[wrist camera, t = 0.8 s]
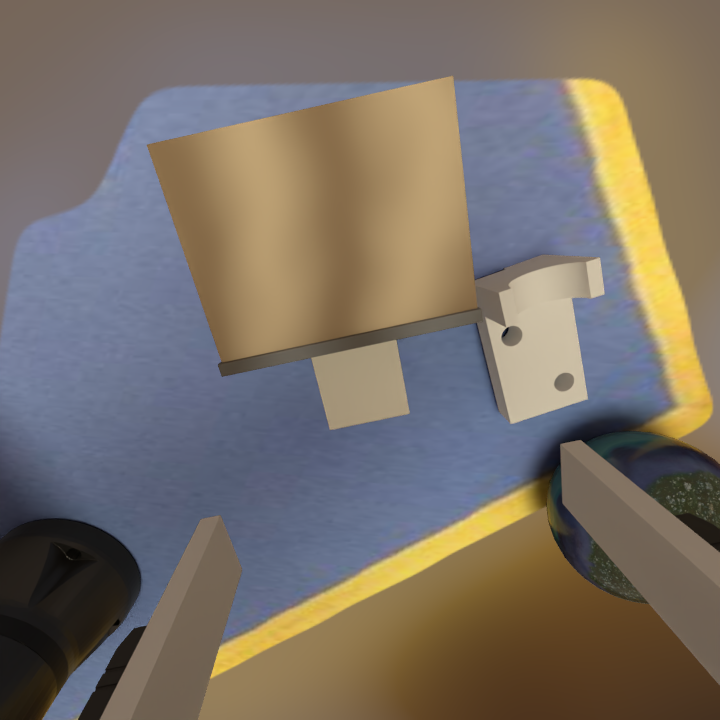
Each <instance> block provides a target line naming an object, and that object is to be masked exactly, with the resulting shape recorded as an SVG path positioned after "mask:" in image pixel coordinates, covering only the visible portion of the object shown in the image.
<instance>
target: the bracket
mask: <svg viewBox="0 0 720 720" xmlns="http://www.w3.org/2000/svg"><path fill="white" fill-rule="evenodd" d="M503 269H504V270H503V271H500V272H497V273H494V274H491V275H488V276H486V277H483V278H480V279H477V280H475V289H476V298H477V307H479V308H481V309H482V314H483V321H482V322H478V323H477V325H478V329H479V333H480V337H481V341H482V345H483V349H484V353H485V357H486V361H487V366H488V370H489V374H490V378H491V382H492V386H493V390H494V394H495V398H496V402H497V406H498V410H499V412H500V413H501V414H502V415H503V416H504V417H505V418H506V420H507V421H508V422H509V423H510V424H513V423H516V422H519V421H522V420H525V419H528V418H531V417H534V416H537V415H540V414H543V413H547V412H550V411H553V410H556V409H559V408H562V407H565V406H568V405H571V404H574V403H577V402H580V401H583V400H586V399H588V397H587V391H586V385H585V378H584V372H583V366H582V360H581V353H580V347H579V341H578V335H577V328H576V322H575V316H574V310H573V303H572V298H578V297H581V298H594V297H597V296H600V295H603V294H604V286H603V279H602V271H601V263H600V257H580V256H560V255H540V256H538V257H535V258H532V259H529V260H526V261H523V262H520V263H518V264H515V265H512V266H509V267H506V268H503ZM507 327H509V330H508V333H507V334H506V335H505V336H504V337H503V338H501V337H502V333H503V331H504V330H505V329H506V328H507Z"/></svg>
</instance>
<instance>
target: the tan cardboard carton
mask: <svg viewBox="0 0 720 720" xmlns="http://www.w3.org/2000/svg"><path fill="white" fill-rule="evenodd" d="M311 359H312V363H313V367H314V371H315V375H316V378H317V382H318V386H319V390H320V394H321V397H322V401H323V405H324V409H325V413H326V417H327V420H328V424H329V428H330V430H333V429H338V428H343V427H348V426H353V425H357V424H362V423H367V422H372V421H377V420H382V419H386V418H391V417H396V416H401V415H406V414H410V412H409V407H408V401H407V396H406V390H405V385H404V379H403V374H402V368H401V363H400V357H399V352H398V346H397V341H396V340H393V341H388V342H383V343H379V344H374V345H369V346H365V347H360V348H355V349H350V350H346V351H341V352H336V353H332V354H327V355H322V356H317V357H313V358H311Z"/></svg>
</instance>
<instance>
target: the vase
mask: <svg viewBox="0 0 720 720" xmlns="http://www.w3.org/2000/svg"><path fill="white" fill-rule="evenodd" d="M585 444H586V445H587V446H589V447H590V448H591V449H592V450H594V451H595V452H596V453H597V454H598V455H600V456H601V457H602V458H603V459H605V460H606V461H607V462H608V463H610V464H611V465H612V466H613V467H615V468H616V469H617V470H618V471H619V472H621V473H622V474H623V475H624V476H626V477H627V478H628V479H629V480H631V481H632V482H633V483H634V484H636V485H637V486H638V487H639V488H641V489H642V490H643V491H644V492H645V493H647V494H648V495H649V496H650V497H652V498H653V499H654V500H655V501H657V502H658V503H659V504H660V505H662V506H663V507H664V508H665V509H667V510H668V511H669V512H670V513H671V514H673V515H674V516H675V515H680V514H685V513H690V514H693V515H695V516H697V517H699V518H701V519H703V520H705V521H707V522H710V523H712V524H713V525H715V526H716V527H717V528H719V529H720V464H719V463H718V462H717V461H716V460H715V459H713V458H712V457H710V456H708V455H707V454H705V453H704V452H702V451H701V450H699V449H697V448H696V447H694V446H692V445H689V444H687V443H685V442H683V441H680V440H677V439H675V438H672V437H668V436H665V435H661V434H656V433H651V432H641V431H624V432H614V433H609V434H605V435H601V436H598V437H596V438H593V439H591V440H588V441H587V442H585ZM546 505H547V514H548V522H549V525H550V528H551V531H552V534H553V537H554V539H555V541H556V543H557V545H558V546H559V548H560V550H561V552H562V553H563V555H564V557H565V558H566V559H567V561H568V562H569V563H570V564H571V565H572V566H573V568H574V569H575V570H576V571H577V572H578V573H579V574H580V575H581V576H583V577H584V578H585V579H586V580H588V581H589V582H590V583H592V584H593V585H595V586H596V587H598V588H599V589H601V590H603V591H605V592H607V593H609V594H611V595H614V596H616V597H619V598H622V599H625V600H629V601H632V602H638V603H645V604H649V603H648V602H647V601H646V599H645V598H644V597H643V596H642V595H641V594H640V592H639V591H638V590H637V589H636V588H635V587H634V586H633V584H632V583H631V582H630V581H629V580H628V579H627V577H626V576H625V575H624V574H623V573H622V572H621V570H620V569H619V568H618V567H617V566H616V565H615V564H614V562H613V561H612V560H611V559H610V558H609V557H608V555H607V554H606V553H605V552H604V551H603V550H602V548H601V547H600V546H599V545H598V544H597V543H596V542H595V540H594V539H593V538H592V537H591V536H590V535H589V533H588V532H587V531H586V530H585V529H584V528H583V527H582V525H581V524H580V523H579V522H578V521H577V520H576V518H575V517H574V516H573V515H572V514H571V513H570V511H569V510H568V509H567V508H566V507H565V506H564V505H563V503H562V478H561V463H560V464H559V466H558V467H557V469H556V470H555V472H554V474H553V476H552V478H551V480H550V484H549V487H548V493H547V503H546Z"/></svg>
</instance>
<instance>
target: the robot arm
mask: <svg viewBox="0 0 720 720" xmlns="http://www.w3.org/2000/svg"><path fill="white" fill-rule="evenodd" d="M560 450H561V478H562V503H563V505H564V506H565V507H566V508H567V509H568V510H569V511H570V513H571V514H572V515H573V516H574V517H575V518H576V520H577V521H578V522H579V523H580V524H581V525H582V527H583V528H584V529H585V530H586V531H587V532H588V533H589V535H590V536H591V537H592V538H593V539H594V540H595V542H596V543H597V544H598V545H599V546H600V547H601V548H602V550H603V551H604V552H605V553H606V554H607V555H608V557H609V558H610V559H611V560H612V561H613V562H614V564H615V565H616V566H617V567H618V568H619V569H620V570H621V572H622V573H623V574H624V575H625V576H626V577H627V579H628V580H629V581H630V582H631V583H632V584H633V586H634V587H635V588H636V589H637V590H638V591H639V592H640V594H641V595H642V596H643V597H644V598H645V599H646V601H647V602H648V603H649V604H650V605H651V606H652V607H653V608H654V610H655V611H656V612H657V613H658V614H659V616H660V617H661V618H662V619H663V620H664V621H665V622H666V624H667V625H668V626H669V627H670V628H671V629H672V631H673V632H674V633H675V634H676V635H677V636H678V637H679V639H680V640H681V641H682V642H683V643H684V645H685V646H686V647H687V648H688V649H689V650H690V651H691V653H692V654H693V655H694V656H695V657H696V658H697V659H698V661H699V662H700V663H701V664H702V665H703V666H704V668H706V670H707V671H708V672H709V673H710V675H711V676H712V677H713V678H714V679H715V680H716V682H717V683H718V684H719V685H720V529H719V528H717V527H716V526H715V525H713V524H712V523H710V522H707V521H705V520H703V519H701V518H699V517H697V516H695V515H693V514H690V513H685V514H680V515H675V516H674V515H673V514H671V513H670V512H669V511H668V510H667V509H665V508H664V507H663V506H662V505H660V504H659V503H658V502H657V501H655V500H654V499H653V498H652V497H650V496H649V495H648V494H647V493H645V492H644V491H643V490H642V489H641V488H639V487H638V486H637V485H636V484H634V483H633V482H632V481H631V480H629V479H628V478H627V477H626V476H624V475H623V474H622V473H621V472H619V471H618V470H617V469H616V468H615V467H613V466H612V465H611V464H610V463H608V462H607V461H606V460H605V459H603V458H602V457H601V456H600V455H598V454H597V453H596V452H595V451H594V450H592V449H591V448H590V447H589V446H587V445H586V444H585V443H584V442H582V441H581V440H577V441H572V442H568V443H563V444H560ZM241 572H242V568H241V565H240V563H239V560H238V558H237V555H236V553H235V550H234V548H233V545H232V543H231V540H230V538H229V535H228V533H227V530H226V528H225V525H224V523H223V520H222V518H221V515H218V516H214V517H209V518H204V519H201V520H200V522H199V524H198V526H197V528H196V530H195V532H194V534H193V536H192V538H191V540H190V542H189V544H188V546H187V548H186V550H185V552H184V554H183V556H182V558H181V560H180V562H179V563H178V565H177V567H176V569H175V571H174V573H173V575H172V577H171V579H170V581H169V583H168V585H167V587H166V589H165V591H164V593H163V595H162V597H161V599H160V601H159V603H158V605H157V607H156V609H155V611H154V613H153V615H152V617H151V619H150V621H149V623H148V625H147V626H143V627H138V628H134V629H133V630H132V631H131V633H130V634H129V635H128V636H127V637H126V638H125V640H124V641H123V642H122V643H121V644H120V645H119V647H118V648H117V649H116V651H115V653H114V655H113V657H112V658H111V660H110V662H109V664H108V666H107V668H106V669H105V670H106V672H105V674H103V675H102V677H101V678H100V680H99V682H98V684H97V686H96V690H95V692H93V693H92V695H91V697H90V698H89V700H88V702H87V704H86V706H85V708H84V709H83V711H82V713H81V715H80V717H79V718H78V720H198V717H199V713H200V710H201V706H202V703H203V700H204V696H205V693H206V690H207V686H208V683H209V680H210V676H211V673H212V670H213V666H214V663H215V660H216V656H217V653H218V650H219V646H220V643H221V639H222V636H223V633H224V629H225V626H226V623H227V619H228V616H229V613H230V609H231V606H232V603H233V599H234V596H235V593H236V589H237V586H238V582H239V579H240V576H241ZM139 591H140V574H139V571H138V568H137V565H136V563H135V561H134V560H133V558H132V557H131V555H130V554H129V552H128V551H127V550H126V549H125V548H124V547H123V546H122V545H121V544H120V543H119V542H117V541H116V540H115V539H113V538H112V537H111V536H109V535H108V534H106V533H104V532H102V531H100V530H98V529H96V528H94V527H91V526H88V525H86V524H82V523H78V522H74V521H69V520H59V519H47V520H38V521H33V522H29V523H26V524H23V525H21V526H18V527H16V528H14V529H13V530H11V531H10V532H8V533H7V534H6V535H5V536H4V537H3V538H1V539H0V720H42V719H43V717H44V716H45V714H46V712H47V711H48V709H49V708H50V706H51V704H52V703H53V701H54V699H55V698H56V696H57V695H58V693H59V692H60V690H61V688H62V687H63V685H64V684H65V682H66V681H67V679H68V678H69V676H70V675H71V674H72V673H73V672H74V671H75V670H76V669H77V668H78V667H79V666H80V665H81V664H82V663H83V662H84V661H85V660H86V659H87V658H88V657H89V656H90V655H91V654H92V653H93V652H94V651H95V650H96V649H97V648H98V647H99V646H100V645H101V644H102V643H103V642H104V641H105V640H106V639H107V637H108V636H110V635H111V634H112V633H113V632H114V631H115V630H116V629H117V628H118V627H119V626H120V625H121V624H122V622H123V621H124V620H125V618H126V617H127V615H128V613H129V611H130V610H131V608H132V606H133V605H134V603H135V601H136V599H137V597H138V594H139Z"/></svg>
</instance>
